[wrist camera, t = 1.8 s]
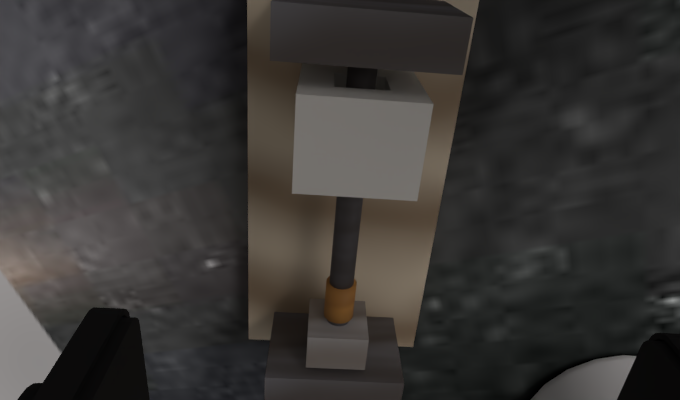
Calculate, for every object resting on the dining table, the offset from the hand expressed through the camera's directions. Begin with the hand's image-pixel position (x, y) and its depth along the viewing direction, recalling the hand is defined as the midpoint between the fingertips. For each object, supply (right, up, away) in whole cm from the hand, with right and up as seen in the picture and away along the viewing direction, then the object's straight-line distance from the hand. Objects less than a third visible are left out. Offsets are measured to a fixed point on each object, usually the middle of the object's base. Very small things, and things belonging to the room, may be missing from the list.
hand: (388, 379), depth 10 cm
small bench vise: (-1, +4, +18) cm, 19 cm away
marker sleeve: (0, +7, +14) cm, 16 cm away
